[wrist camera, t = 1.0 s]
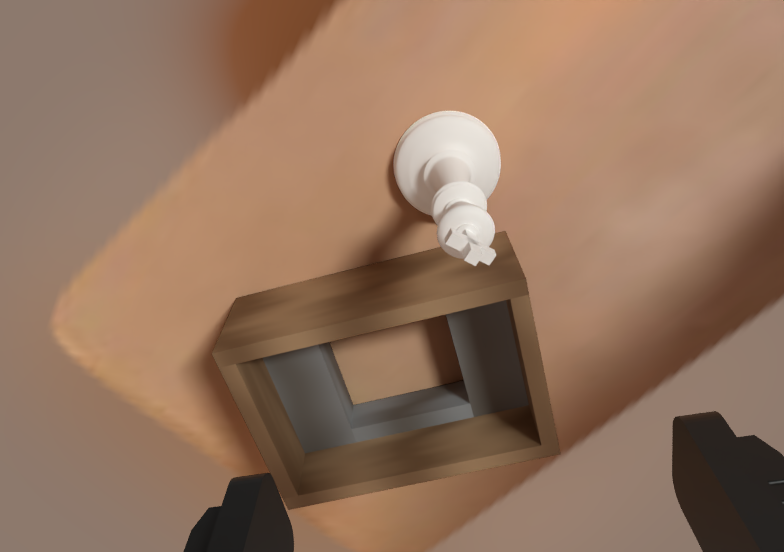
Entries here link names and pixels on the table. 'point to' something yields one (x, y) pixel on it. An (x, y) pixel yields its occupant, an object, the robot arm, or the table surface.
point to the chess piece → (452, 180)
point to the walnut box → (398, 413)
